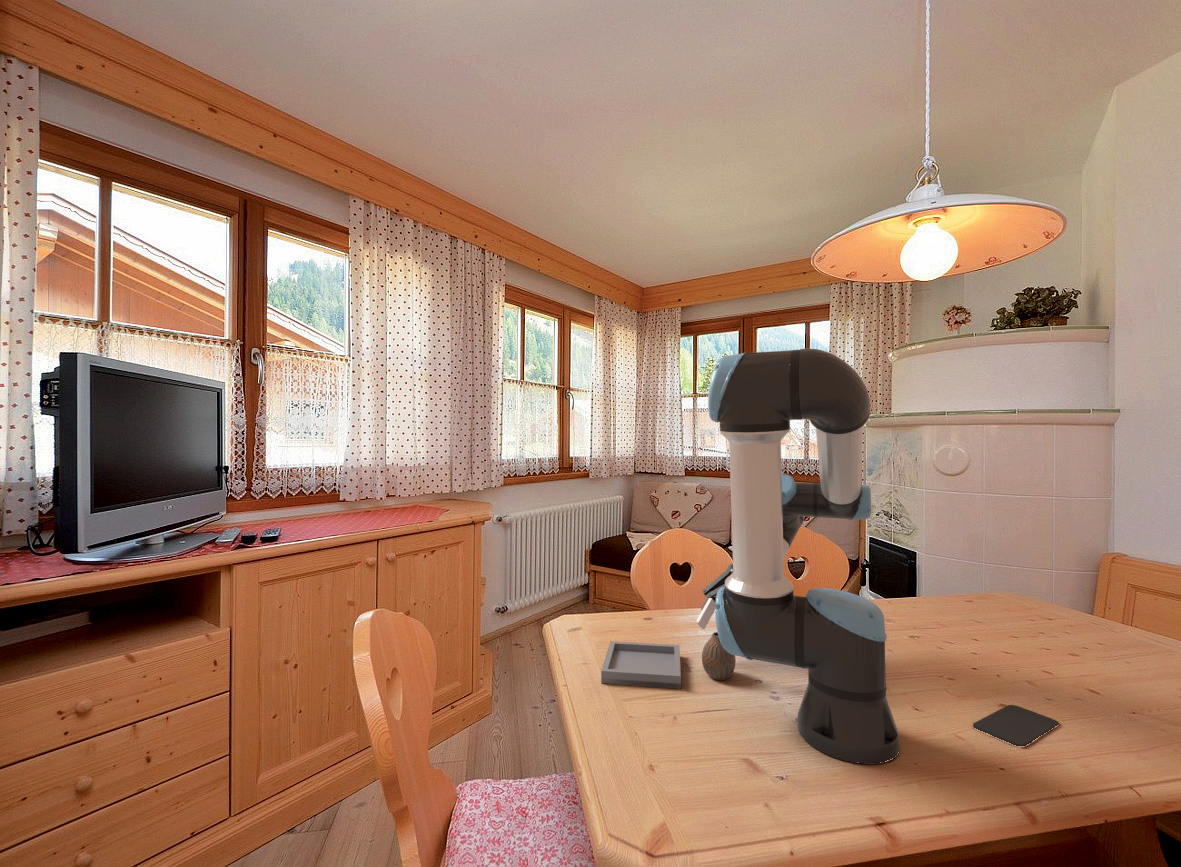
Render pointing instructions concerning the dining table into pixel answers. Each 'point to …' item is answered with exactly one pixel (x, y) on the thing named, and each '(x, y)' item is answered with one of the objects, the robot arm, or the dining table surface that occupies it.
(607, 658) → the tray
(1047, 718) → the phone
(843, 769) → the dining table surface
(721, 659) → the vase
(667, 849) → the dining table surface
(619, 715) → the dining table surface
